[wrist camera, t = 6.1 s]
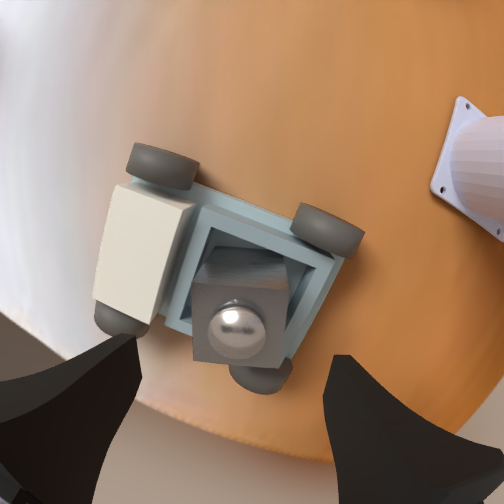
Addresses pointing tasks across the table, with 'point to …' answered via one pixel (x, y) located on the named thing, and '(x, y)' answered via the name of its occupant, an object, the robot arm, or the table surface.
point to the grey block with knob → (240, 307)
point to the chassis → (206, 253)
